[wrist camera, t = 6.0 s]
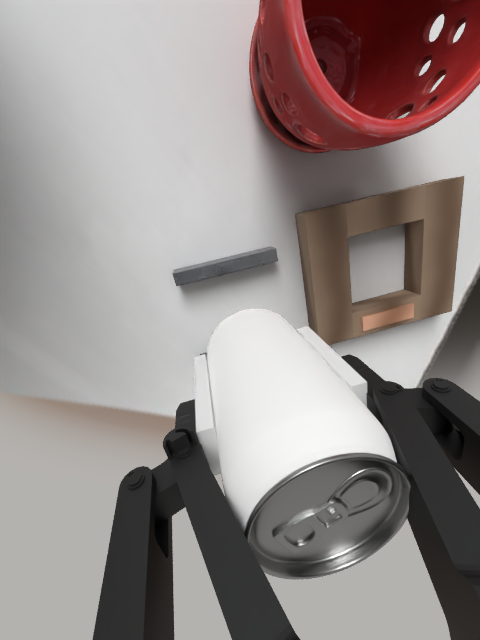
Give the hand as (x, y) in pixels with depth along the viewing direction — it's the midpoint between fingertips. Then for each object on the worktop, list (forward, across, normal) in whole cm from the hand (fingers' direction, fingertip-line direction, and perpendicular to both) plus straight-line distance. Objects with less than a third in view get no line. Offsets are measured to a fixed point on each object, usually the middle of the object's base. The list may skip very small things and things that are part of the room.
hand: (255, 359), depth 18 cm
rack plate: (+12, +16, 0) cm, 20 cm away
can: (+2, 0, 0) cm, 2 cm away
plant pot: (+12, +11, +18) cm, 24 cm away
